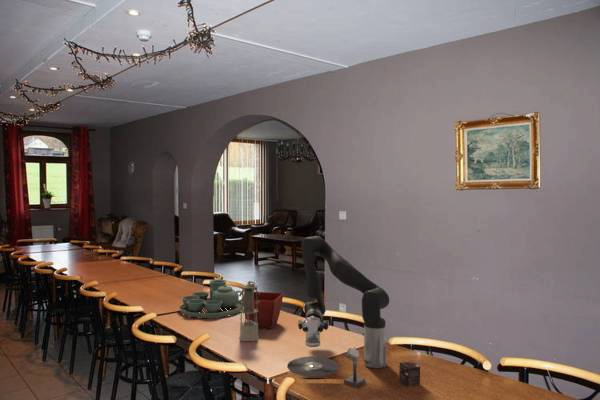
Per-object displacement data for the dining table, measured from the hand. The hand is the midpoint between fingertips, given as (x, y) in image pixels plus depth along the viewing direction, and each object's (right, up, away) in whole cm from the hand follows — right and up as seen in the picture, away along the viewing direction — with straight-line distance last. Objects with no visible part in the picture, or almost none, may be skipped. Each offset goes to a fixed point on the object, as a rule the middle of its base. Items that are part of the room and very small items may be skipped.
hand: (312, 329), depth 193 cm
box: (+38, -18, -10) cm, 44 cm away
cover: (0, -7, +3) cm, 7 cm away
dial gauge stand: (+15, -18, -10) cm, 26 cm away
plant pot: (-27, -16, +66) cm, 73 cm away
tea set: (-62, -16, +98) cm, 117 cm away
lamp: (-31, -17, +41) cm, 54 cm away
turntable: (0, -18, +3) cm, 18 cm away
